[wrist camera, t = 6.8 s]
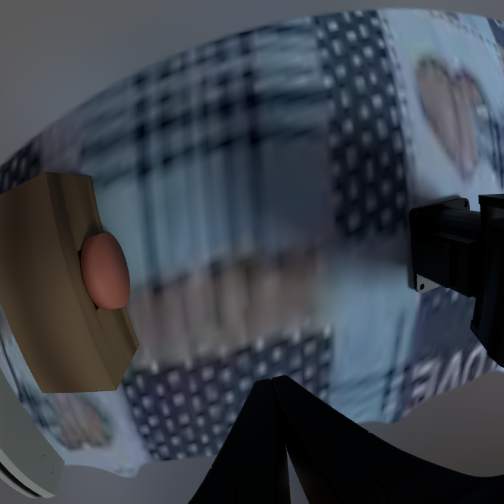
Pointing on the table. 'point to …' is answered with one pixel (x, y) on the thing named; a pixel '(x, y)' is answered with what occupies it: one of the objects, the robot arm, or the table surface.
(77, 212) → the block
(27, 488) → the white curved piece
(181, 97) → the table surface
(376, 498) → the robot arm
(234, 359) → the table surface
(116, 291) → the pin
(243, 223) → the table surface
